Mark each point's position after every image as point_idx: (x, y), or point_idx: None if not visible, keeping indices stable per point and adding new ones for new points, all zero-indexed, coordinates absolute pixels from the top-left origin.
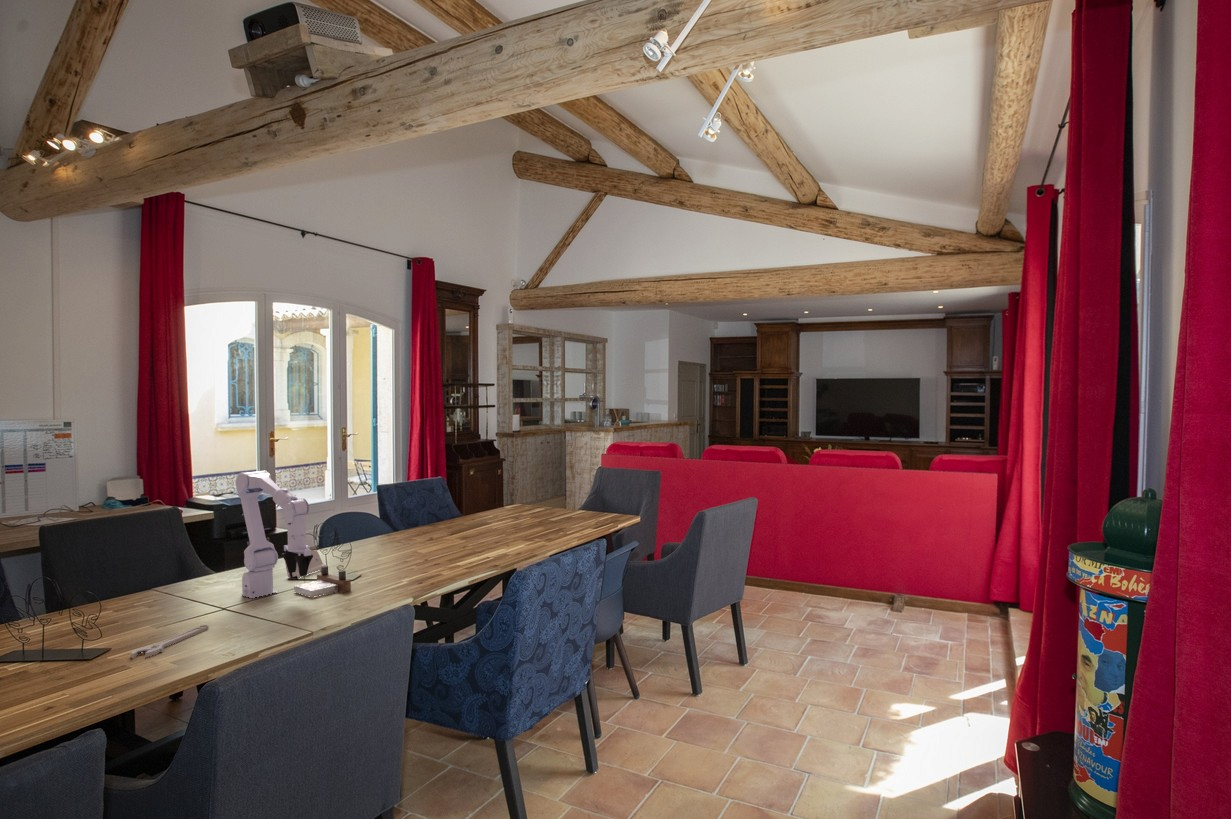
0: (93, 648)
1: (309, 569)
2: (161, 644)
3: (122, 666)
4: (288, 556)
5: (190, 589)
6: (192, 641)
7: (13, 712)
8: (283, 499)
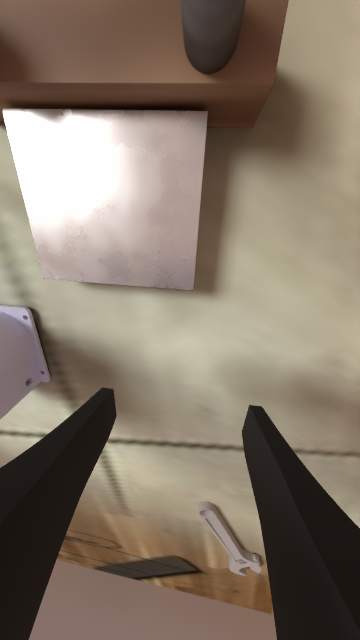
0: (157, 558)
1: None
2: (241, 558)
3: (262, 576)
4: (31, 588)
5: None
6: (253, 532)
7: None
8: None
